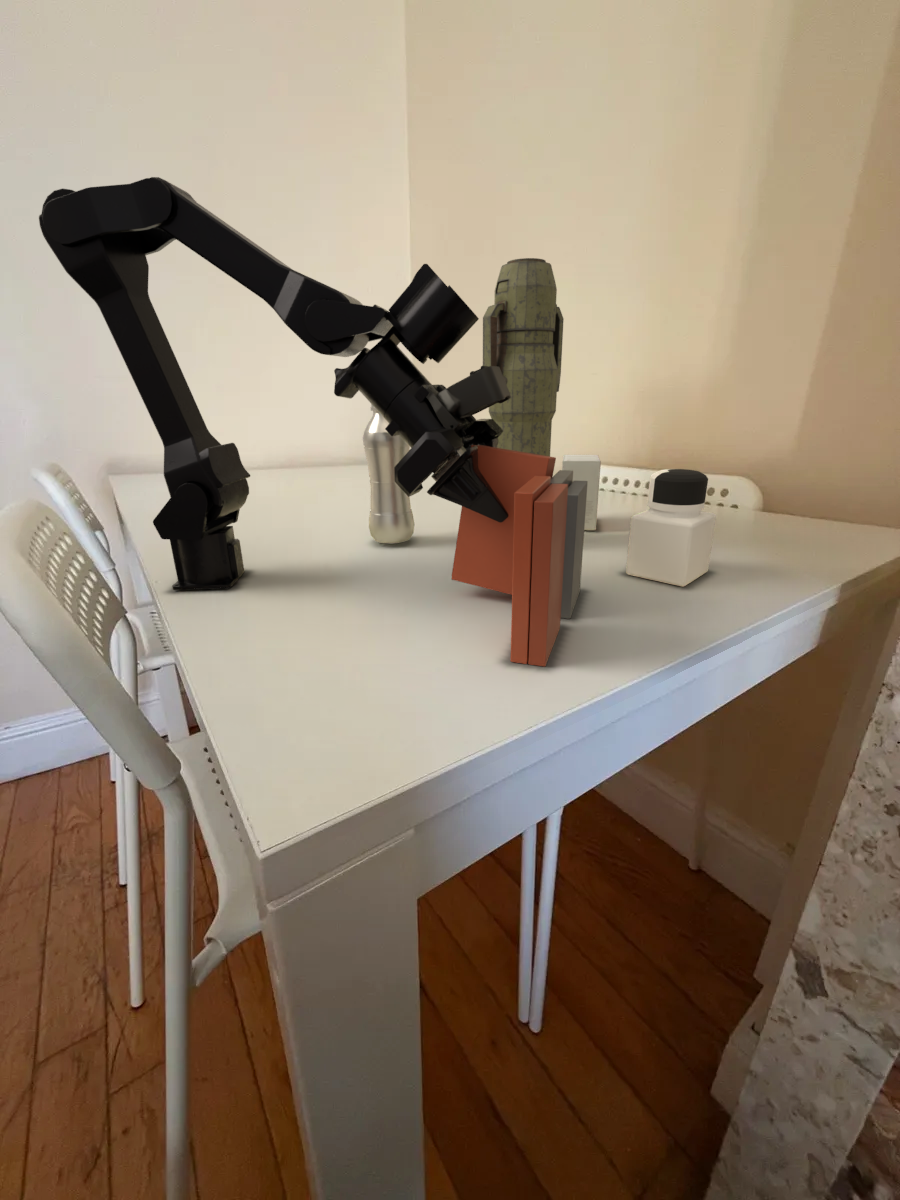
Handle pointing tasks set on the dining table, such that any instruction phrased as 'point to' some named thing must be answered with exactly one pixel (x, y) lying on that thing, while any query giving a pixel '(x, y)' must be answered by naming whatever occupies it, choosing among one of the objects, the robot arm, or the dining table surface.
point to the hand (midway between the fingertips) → (510, 514)
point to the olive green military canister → (525, 353)
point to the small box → (587, 471)
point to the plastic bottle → (386, 483)
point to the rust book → (484, 539)
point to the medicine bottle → (672, 529)
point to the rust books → (537, 569)
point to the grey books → (572, 539)
